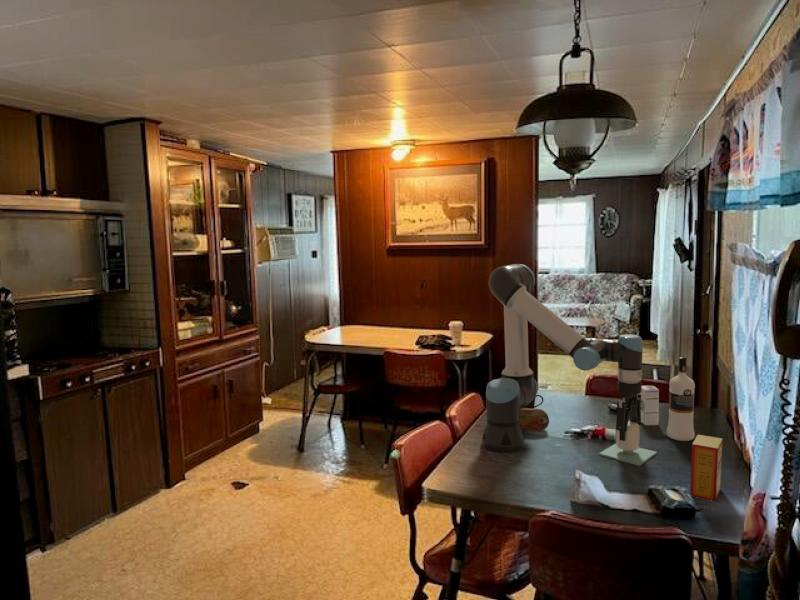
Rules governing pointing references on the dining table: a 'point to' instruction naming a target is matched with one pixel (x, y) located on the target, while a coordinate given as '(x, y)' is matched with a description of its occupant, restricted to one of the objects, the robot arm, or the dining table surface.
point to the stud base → (628, 455)
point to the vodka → (681, 405)
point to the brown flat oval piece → (533, 419)
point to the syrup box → (649, 405)
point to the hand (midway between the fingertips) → (628, 445)
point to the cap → (631, 436)
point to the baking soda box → (706, 467)
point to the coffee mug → (531, 405)
